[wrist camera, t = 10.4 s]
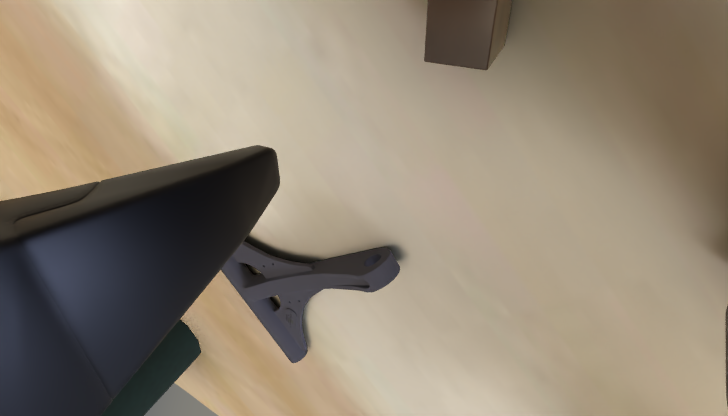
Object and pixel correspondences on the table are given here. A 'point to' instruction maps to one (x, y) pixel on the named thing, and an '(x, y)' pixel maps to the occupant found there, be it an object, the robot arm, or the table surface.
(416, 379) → the table surface
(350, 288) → the bracket
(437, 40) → the spatula
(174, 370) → the wine bottle
